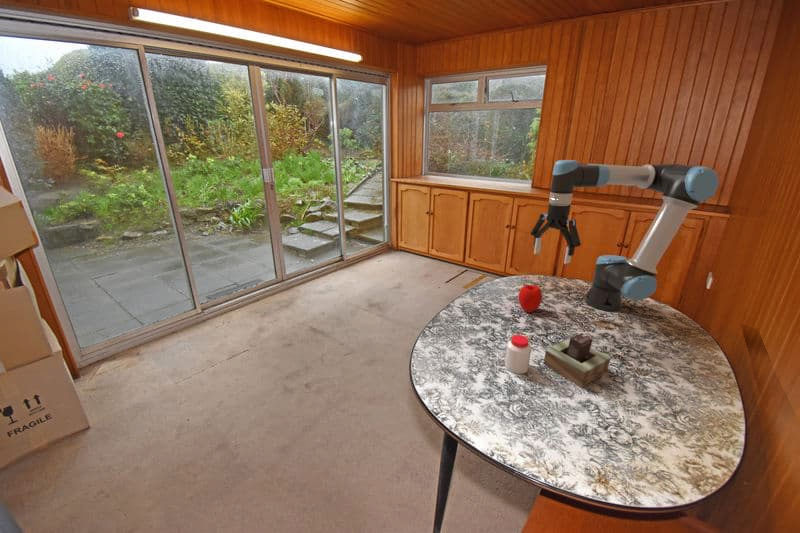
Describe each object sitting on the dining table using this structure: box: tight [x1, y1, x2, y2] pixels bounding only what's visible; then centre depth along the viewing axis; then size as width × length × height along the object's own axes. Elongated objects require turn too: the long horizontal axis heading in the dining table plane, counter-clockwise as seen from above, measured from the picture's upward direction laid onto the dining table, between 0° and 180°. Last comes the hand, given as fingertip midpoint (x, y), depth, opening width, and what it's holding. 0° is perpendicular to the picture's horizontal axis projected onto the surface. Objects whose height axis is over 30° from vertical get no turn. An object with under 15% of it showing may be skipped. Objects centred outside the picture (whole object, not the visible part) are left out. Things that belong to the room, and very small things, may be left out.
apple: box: [517, 284, 543, 313], centre depth 154 cm, size 10×10×12 cm
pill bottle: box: [504, 334, 532, 375], centre depth 117 cm, size 8×8×11 cm
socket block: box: [543, 337, 611, 388], centre depth 117 cm, size 14×14×6 cm
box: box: [567, 332, 593, 363], centre depth 116 cm, size 6×4×12 cm
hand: (551, 258), depth 136 cm, fingers open, 13 cm apart
